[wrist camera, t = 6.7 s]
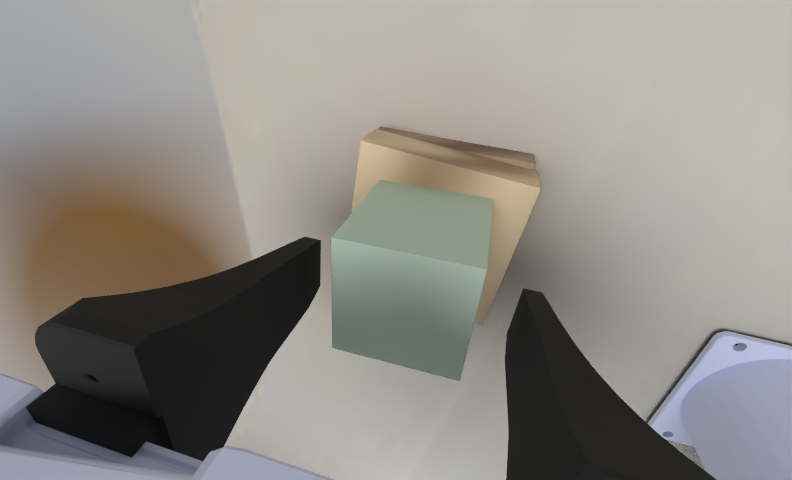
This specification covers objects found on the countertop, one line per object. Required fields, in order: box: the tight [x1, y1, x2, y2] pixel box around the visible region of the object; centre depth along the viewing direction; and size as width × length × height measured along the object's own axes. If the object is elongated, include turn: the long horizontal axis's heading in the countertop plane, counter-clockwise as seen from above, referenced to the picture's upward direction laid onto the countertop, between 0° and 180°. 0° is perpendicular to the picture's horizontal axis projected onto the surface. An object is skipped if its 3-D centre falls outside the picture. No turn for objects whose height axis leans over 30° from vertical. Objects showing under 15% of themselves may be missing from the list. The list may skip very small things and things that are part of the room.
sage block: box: [331, 179, 493, 381], centre depth 14 cm, size 4×4×5 cm
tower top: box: [351, 129, 541, 325], centre depth 17 cm, size 7×7×2 cm
